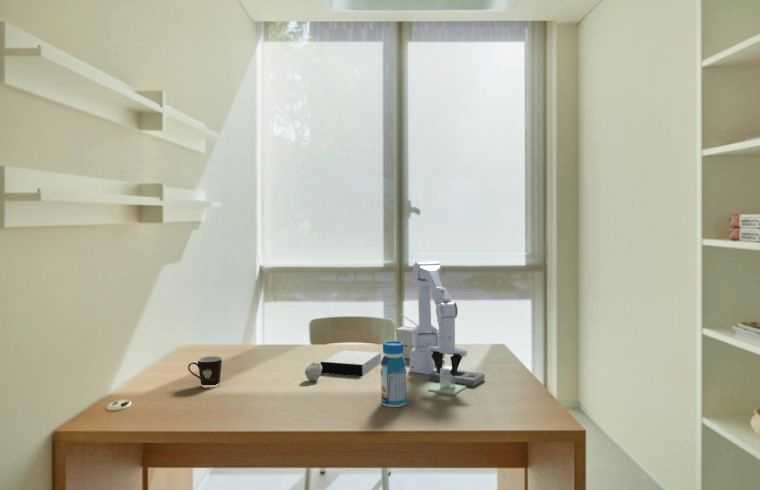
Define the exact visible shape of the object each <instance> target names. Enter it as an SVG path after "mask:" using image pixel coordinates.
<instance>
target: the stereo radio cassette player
mask: <svg viewBox="0 0 760 490" xmlns="http://www.w3.org/2000/svg"><path fill="white" fill-rule="evenodd" d="M398 315H401V316H402V317H404V318H405V319H406V320H407V321H409V322H411V323H412V324H414V325H415V326H418V325H419V324H417V323H415V322H414V321H413V320H411V319H410V318H408V317H406V316H405V315H403V314H401V313H400V312H398ZM415 326H407V325H404V326H400V327H399V326H398V327H397V328H395V333H396V341H398V342H402V343H403V345H404V352H403V354H402V356H403V357H404V359H407V360H410V352H411V350H412V349H413V348H414V347H413V346H412V331H413V329H414V328H415ZM437 331H438V337H439V329H437ZM421 333H429V332H421ZM438 346H439V345H438ZM444 358H446V354H443V359H444ZM434 364H435V362H434Z"/></svg>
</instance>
